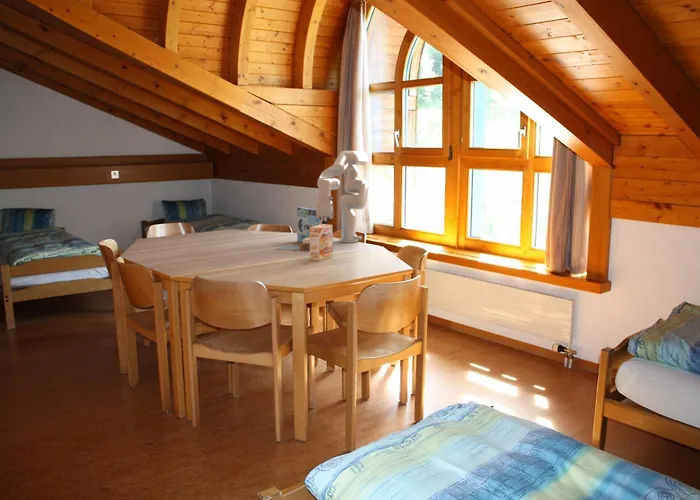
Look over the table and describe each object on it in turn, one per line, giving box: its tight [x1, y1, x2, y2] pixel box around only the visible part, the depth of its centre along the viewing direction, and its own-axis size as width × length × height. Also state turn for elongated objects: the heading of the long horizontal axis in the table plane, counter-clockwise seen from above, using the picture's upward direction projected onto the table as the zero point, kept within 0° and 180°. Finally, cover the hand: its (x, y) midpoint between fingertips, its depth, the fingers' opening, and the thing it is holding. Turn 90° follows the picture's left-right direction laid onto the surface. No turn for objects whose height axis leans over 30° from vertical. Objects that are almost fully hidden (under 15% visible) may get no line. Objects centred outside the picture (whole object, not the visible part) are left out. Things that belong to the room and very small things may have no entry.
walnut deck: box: [299, 242, 310, 252], centre depth 430 cm, size 9×14×4 cm, turn 165°
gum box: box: [296, 206, 321, 243], centre depth 449 cm, size 20×5×23 cm, turn 39°
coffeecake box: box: [309, 223, 333, 262], centre depth 397 cm, size 15×7×20 cm, turn 151°
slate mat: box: [276, 244, 301, 251], centre depth 433 cm, size 15×16×1 cm
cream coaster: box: [302, 238, 310, 244], centre depth 429 cm, size 8×8×2 cm
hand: (324, 227), depth 425 cm, fingers closed
